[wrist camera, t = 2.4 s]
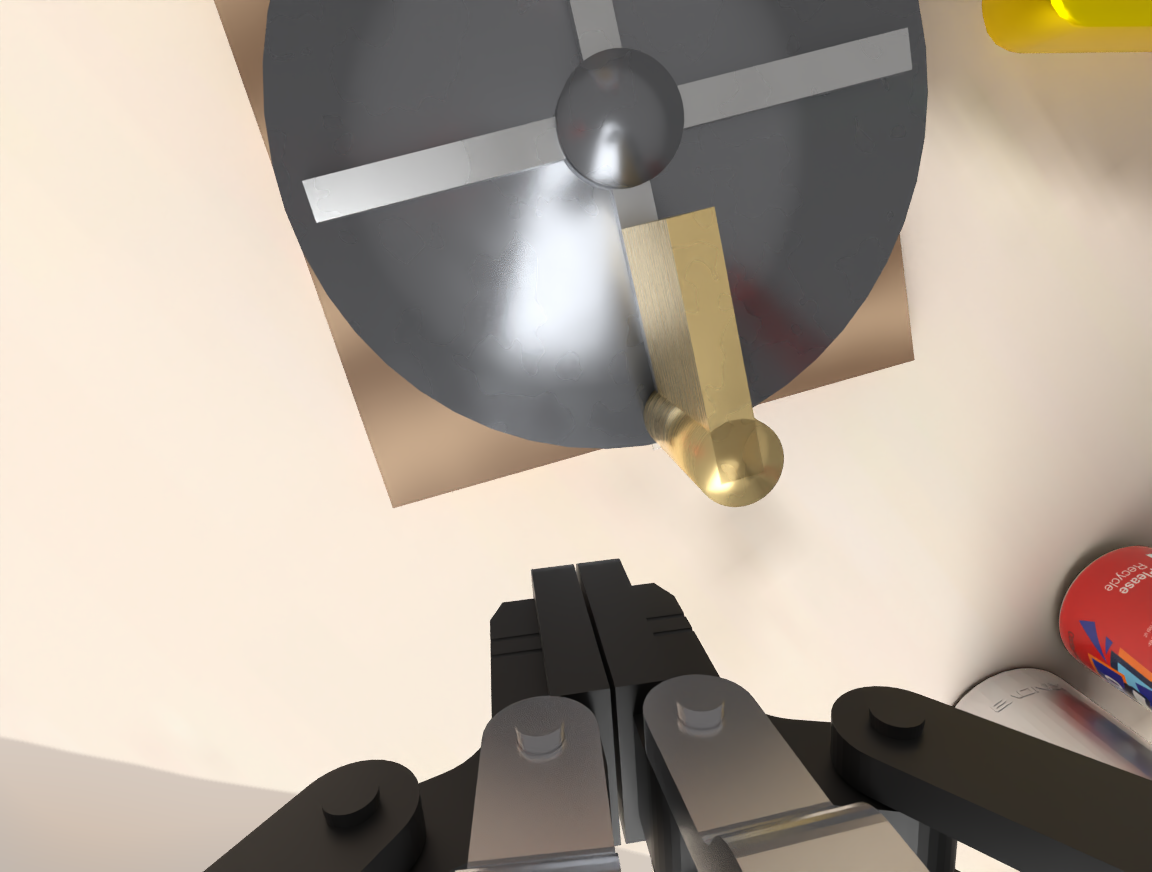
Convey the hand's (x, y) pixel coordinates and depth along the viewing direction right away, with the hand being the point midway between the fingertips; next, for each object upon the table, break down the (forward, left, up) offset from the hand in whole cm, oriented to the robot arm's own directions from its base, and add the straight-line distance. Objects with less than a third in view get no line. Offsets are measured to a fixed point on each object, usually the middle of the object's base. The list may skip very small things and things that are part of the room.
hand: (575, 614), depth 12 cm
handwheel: (+9, -6, -17) cm, 20 cm away
